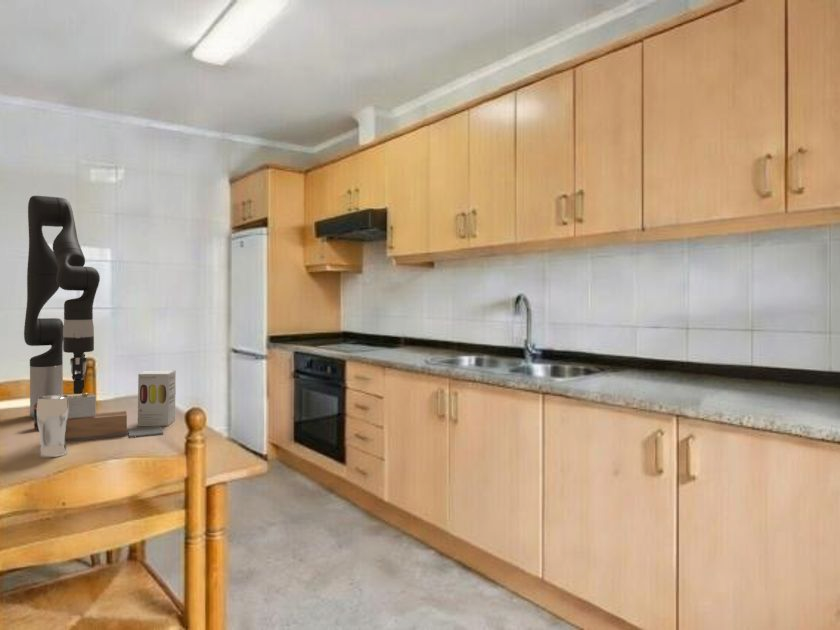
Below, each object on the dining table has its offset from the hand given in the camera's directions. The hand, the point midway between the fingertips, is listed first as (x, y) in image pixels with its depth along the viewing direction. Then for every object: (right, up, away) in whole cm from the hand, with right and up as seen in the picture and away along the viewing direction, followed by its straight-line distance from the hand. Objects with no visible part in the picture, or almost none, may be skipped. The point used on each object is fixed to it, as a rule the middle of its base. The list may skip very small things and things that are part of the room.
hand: (79, 391), depth 156 cm
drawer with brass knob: (0, -8, 0) cm, 8 cm away
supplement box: (+13, -13, +20) cm, 27 cm away
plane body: (+2, -13, +2) cm, 14 cm away
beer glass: (+4, -14, -17) cm, 22 cm away
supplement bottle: (-18, -13, +11) cm, 25 cm away
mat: (+16, -14, +7) cm, 22 cm away
